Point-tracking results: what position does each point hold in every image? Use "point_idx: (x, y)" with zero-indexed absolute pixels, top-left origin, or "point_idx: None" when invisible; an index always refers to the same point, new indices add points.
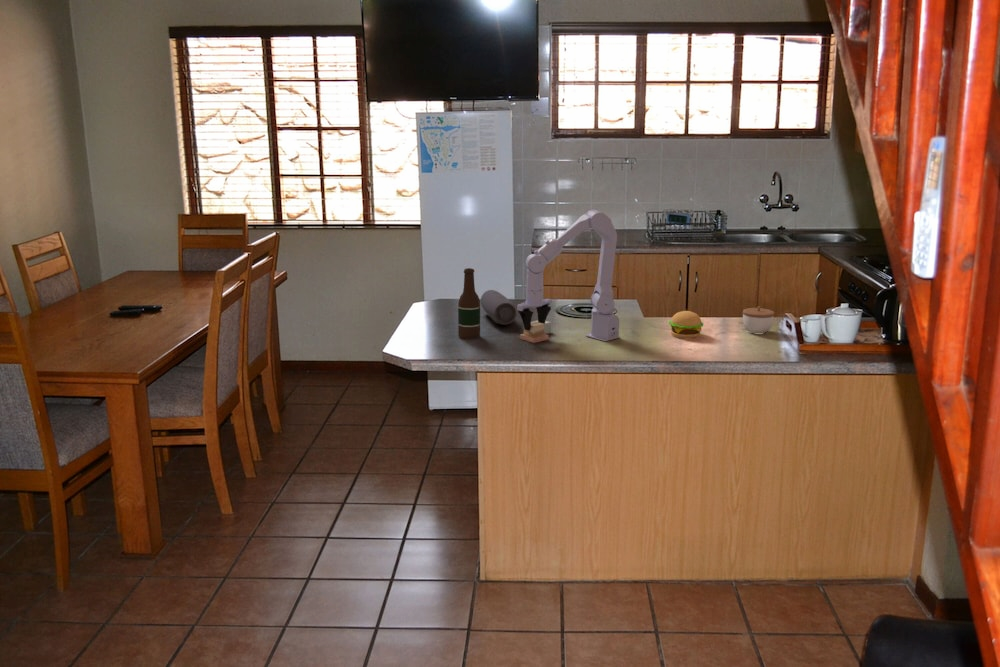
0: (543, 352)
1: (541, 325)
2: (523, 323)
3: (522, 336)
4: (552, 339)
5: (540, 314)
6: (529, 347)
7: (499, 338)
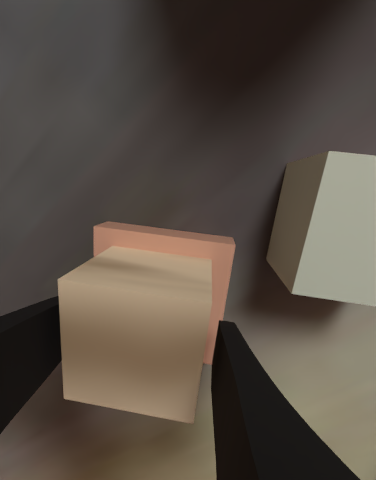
0: (37, 429)
1: (158, 407)
2: (7, 317)
3: (97, 249)
4: None
5: (232, 470)
6: None
7: (18, 115)
